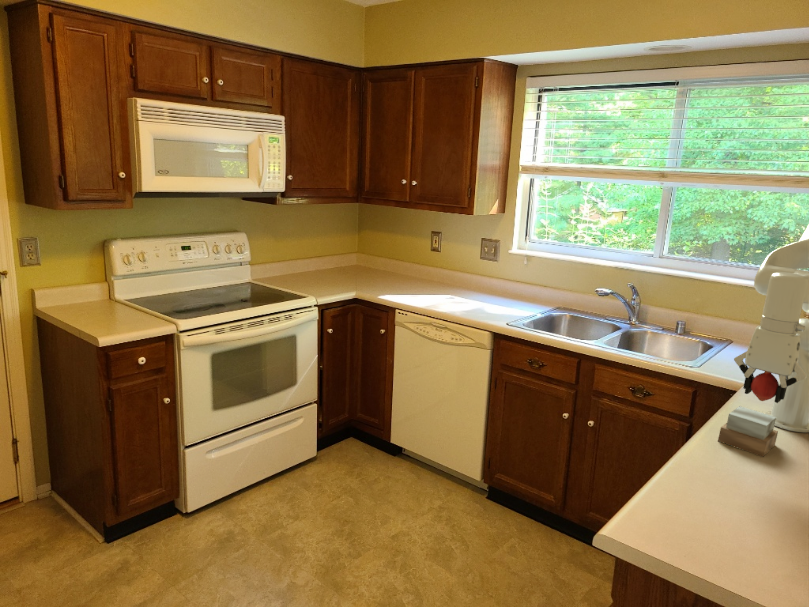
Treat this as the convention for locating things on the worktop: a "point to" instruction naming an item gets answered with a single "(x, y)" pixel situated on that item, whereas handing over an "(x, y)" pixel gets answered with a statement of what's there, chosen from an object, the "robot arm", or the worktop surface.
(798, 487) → the worktop surface
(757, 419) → the wood and metal block
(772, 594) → the worktop surface
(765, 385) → the onion
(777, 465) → the worktop surface
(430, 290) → the worktop surface
